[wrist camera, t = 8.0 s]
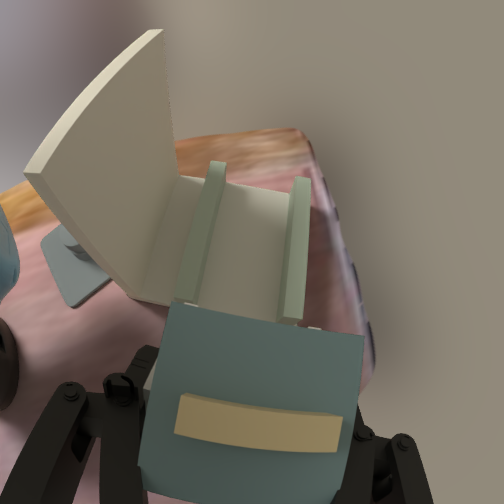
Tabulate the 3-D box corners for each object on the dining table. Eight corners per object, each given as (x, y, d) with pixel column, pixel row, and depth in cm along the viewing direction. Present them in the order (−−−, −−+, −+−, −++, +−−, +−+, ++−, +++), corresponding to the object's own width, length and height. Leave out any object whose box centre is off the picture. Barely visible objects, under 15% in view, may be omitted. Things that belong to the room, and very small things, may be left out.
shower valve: (151, 223, 31) (51, 299, 25) (159, 244, 36) (72, 311, 30) (108, 164, 34) (23, 226, 28) (118, 187, 39) (41, 244, 33)
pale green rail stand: (129, 298, 32) (20, 172, 10) (168, 180, 39) (146, 30, 18) (293, 328, 32) (417, 236, 11) (304, 203, 40) (366, 60, 19)
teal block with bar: (180, 428, 15) (122, 500, 4) (197, 344, 18) (164, 287, 7) (270, 444, 15) (349, 523, 4) (285, 361, 18) (384, 328, 7)
